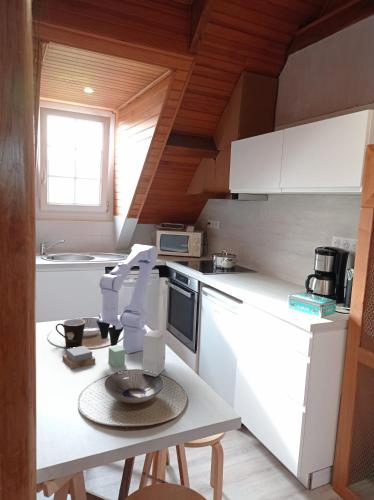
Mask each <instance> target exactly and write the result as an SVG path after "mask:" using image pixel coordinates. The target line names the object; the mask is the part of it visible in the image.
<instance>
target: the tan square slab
mask: <svg viewBox="0 0 374 500" xmlns="http://www.w3.org/2000/svg"><path fill="white" fill-rule="evenodd" d="M66 354H67V353H66ZM66 354H62V361H63V362H64V363H65V364H66V365H68V366H69V367H70V369H71V370H75V369H78V368H81V367H86V366H91V365H93V364H96V358H95V357H94V356H93V355H92V358H90V359H86V360H82V361H78V362H73V361H72V360H71V359H70V358H69V357H67V356H66Z"/></svg>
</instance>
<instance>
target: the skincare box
mask: <svg viewBox="0 0 374 500" xmlns="http://www.w3.org/2000/svg"><path fill="white" fill-rule="evenodd" d="M166 338H167V331H166V330H161V329H160V330H159V329H153V328H152V329H151V330H149V331H147V334H145V335H144V339H143V350H142V370H148V371H152V372H155V373H158V374H159V375H160V374H161V373H162V372H163V371H164V370H166V369H165V367H166V364H165V363H166V344H167V343H166V342H167V341H166ZM142 370H141V371H142Z"/></svg>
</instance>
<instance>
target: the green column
mask: <svg viewBox="0 0 374 500" xmlns="http://www.w3.org/2000/svg"><path fill="white" fill-rule="evenodd" d="M121 346H122V345H115V346H111V347H108V359H107V361H108V362H107V363H108V364H109V365H110V366H112V367H113V368H116V367H120V366H125V364H126V361H125V360H126V352H125V349H124V348H122V347H121Z"/></svg>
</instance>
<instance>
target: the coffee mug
mask: <svg viewBox="0 0 374 500" xmlns="http://www.w3.org/2000/svg"><path fill="white" fill-rule="evenodd" d="M85 325H86V320H83V319H81V318H72V319H71V318H70V319H66V320H64V321H63V323H57V324H55V330H56V332H57V333H58V334H59V335H60V336H61V337H63V338H64V339H65V340H64V341H65V342H64V343H65V348H67V347H71V348H73V347H79V346H81V345H82V346H83V339H84V331H85ZM58 326H62V327H63V331H64V332H63V333H64V334H63V333H61V332H60V331H59V330H58ZM71 348H70V349H71Z"/></svg>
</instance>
